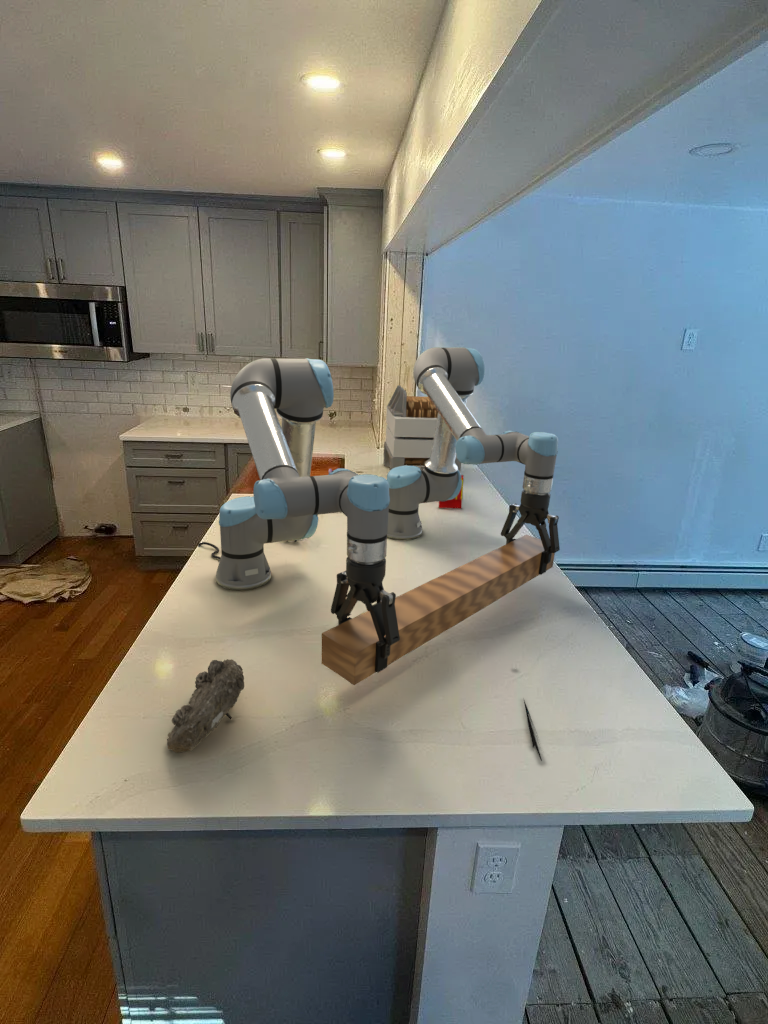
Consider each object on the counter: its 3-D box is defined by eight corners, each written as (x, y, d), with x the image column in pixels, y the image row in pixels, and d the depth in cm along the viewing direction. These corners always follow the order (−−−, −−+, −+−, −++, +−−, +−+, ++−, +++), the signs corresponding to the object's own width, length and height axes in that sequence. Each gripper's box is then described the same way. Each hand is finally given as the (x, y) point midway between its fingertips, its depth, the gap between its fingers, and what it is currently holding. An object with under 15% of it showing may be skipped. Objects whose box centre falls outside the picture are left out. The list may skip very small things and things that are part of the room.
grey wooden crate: (382, 463, 289) (386, 382, 275) (445, 464, 293) (451, 384, 279) (390, 482, 257) (394, 392, 243) (460, 483, 261) (468, 394, 247)
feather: (515, 674, 127) (521, 668, 126) (541, 765, 100) (548, 758, 100) (509, 670, 127) (514, 664, 126) (533, 761, 100) (540, 753, 99)
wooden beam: (523, 556, 167) (526, 534, 165) (552, 567, 161) (556, 544, 159) (321, 663, 113) (321, 633, 111) (354, 685, 107) (355, 653, 105)
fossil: (192, 660, 117) (244, 628, 112) (224, 691, 120) (276, 661, 115) (142, 746, 98) (202, 712, 93) (182, 779, 101) (242, 748, 96)
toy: (456, 466, 252) (467, 476, 223) (454, 496, 255) (465, 509, 225) (428, 465, 252) (437, 475, 222) (427, 495, 254) (435, 508, 225)
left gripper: (312, 544, 111) (312, 642, 119) (396, 583, 97) (390, 691, 105) (341, 534, 117) (339, 629, 124) (424, 570, 102) (416, 674, 110)
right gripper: (493, 484, 156) (484, 558, 164) (568, 504, 142) (555, 584, 149) (507, 479, 161) (499, 551, 169) (582, 498, 147) (568, 576, 155)
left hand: (362, 657), depth 115 cm, fingers closed on wooden beam, 10 cm apart
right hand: (525, 566), depth 159 cm, fingers closed on wooden beam, 10 cm apart
